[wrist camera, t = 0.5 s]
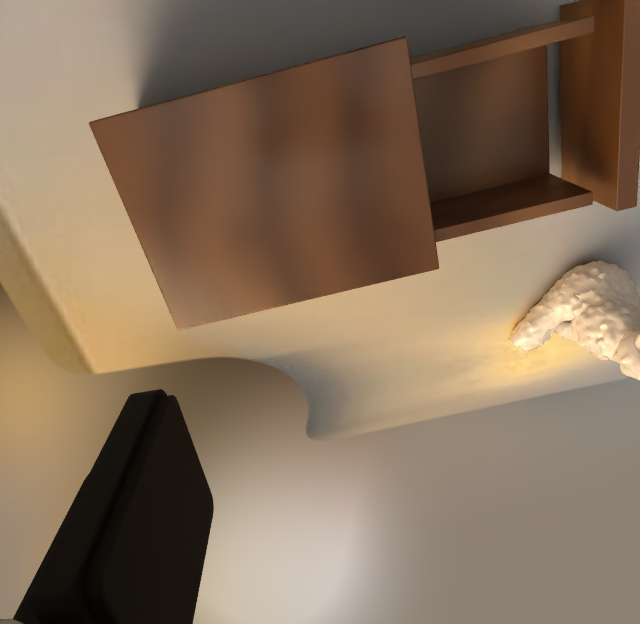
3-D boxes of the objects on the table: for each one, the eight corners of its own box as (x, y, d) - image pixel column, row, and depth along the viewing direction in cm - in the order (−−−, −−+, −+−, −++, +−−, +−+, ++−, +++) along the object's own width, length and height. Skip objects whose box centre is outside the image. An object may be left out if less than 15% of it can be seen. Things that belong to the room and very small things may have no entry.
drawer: (649, -19, 30) (740, -41, 24) (639, 167, 35) (711, 189, 29) (333, 66, 31) (342, 66, 25) (367, 233, 36) (381, 267, 30)
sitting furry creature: (502, 340, 42) (572, 434, 31) (536, 245, 38) (629, 315, 27) (604, 351, 43) (707, 446, 32) (647, 260, 39) (779, 333, 28)
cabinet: (380, 43, 31) (407, 35, 24) (410, 227, 37) (439, 269, 29) (137, 109, 33) (87, 122, 25) (201, 277, 38) (177, 331, 31)
